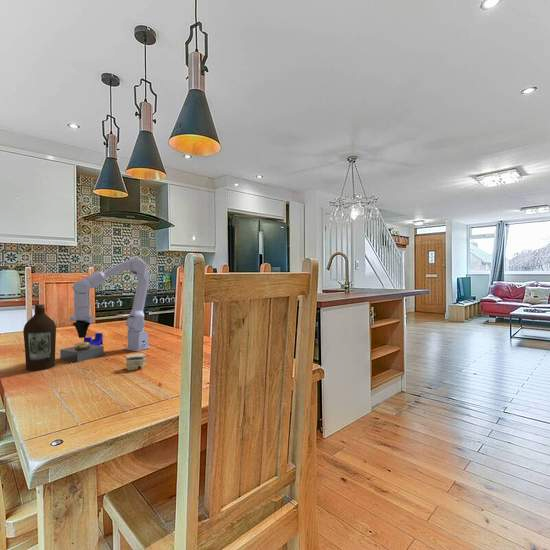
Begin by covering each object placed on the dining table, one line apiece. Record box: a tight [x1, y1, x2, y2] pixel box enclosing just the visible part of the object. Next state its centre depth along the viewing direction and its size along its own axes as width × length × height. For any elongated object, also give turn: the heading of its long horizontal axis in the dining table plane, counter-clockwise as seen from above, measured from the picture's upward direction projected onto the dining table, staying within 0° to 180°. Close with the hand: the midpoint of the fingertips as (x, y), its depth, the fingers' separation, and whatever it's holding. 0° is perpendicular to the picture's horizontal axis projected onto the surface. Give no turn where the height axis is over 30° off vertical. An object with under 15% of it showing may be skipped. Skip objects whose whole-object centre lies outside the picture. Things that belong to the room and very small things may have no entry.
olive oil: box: [22, 303, 57, 372], centre depth 129 cm, size 11×11×25 cm
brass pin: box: [74, 341, 90, 350], centre depth 145 cm, size 6×6×6 cm
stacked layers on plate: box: [125, 352, 147, 371], centre depth 128 cm, size 10×9×6 cm
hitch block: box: [59, 344, 105, 363], centre depth 145 cm, size 12×12×4 cm
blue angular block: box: [83, 332, 104, 346], centre depth 164 cm, size 12×4×6 cm, turn 1°
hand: (82, 337), depth 145 cm, fingers closed
